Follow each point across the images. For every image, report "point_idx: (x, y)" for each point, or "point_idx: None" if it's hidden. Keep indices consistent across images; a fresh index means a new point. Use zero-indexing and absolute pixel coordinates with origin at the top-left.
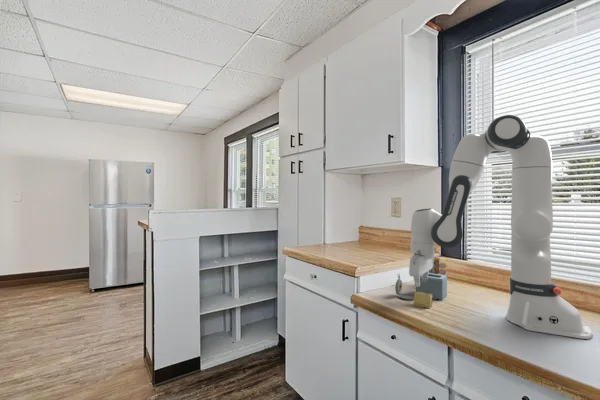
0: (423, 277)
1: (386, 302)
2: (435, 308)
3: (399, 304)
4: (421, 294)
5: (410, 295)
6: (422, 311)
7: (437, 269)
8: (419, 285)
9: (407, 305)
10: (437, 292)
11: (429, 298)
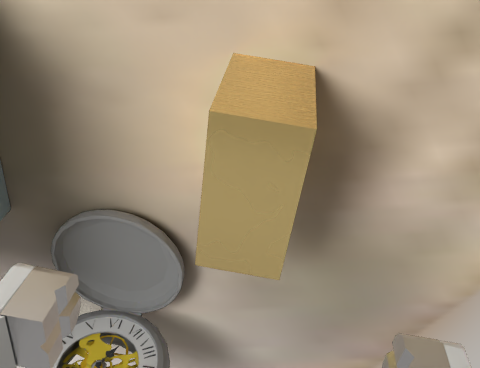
0: (49, 352)
1: (311, 350)
2: (280, 14)
3: (315, 286)
4: (293, 218)
5: (61, 245)
6: (434, 124)
7: None
8: (459, 356)
9: (312, 240)
10: None
11: (316, 119)
